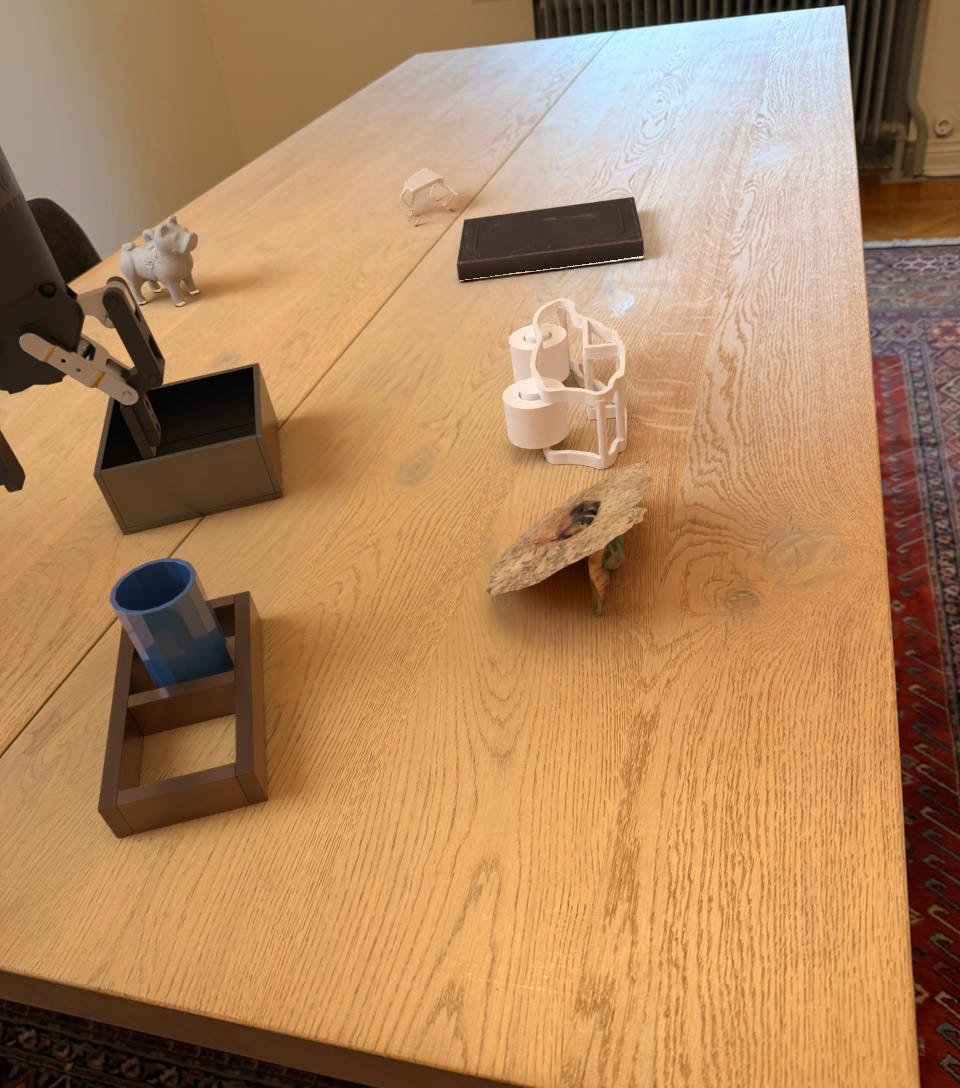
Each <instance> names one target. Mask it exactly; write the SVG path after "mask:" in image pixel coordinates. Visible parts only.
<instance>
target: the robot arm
mask: <svg viewBox="0 0 960 1088" xmlns="http://www.w3.org/2000/svg"><path fill="white" fill-rule="evenodd" d="M86 316H91V317H94V318H96V319H97V320H98V321H99V323H100V324H101V325H102V326H103V327H105V328H107V329H110V330H112V329H115V331H116V332H117V334H118V336H119V339H120V340H121V342H122V344H123V346H124V348H125V350H126V352H127V354H128V356H129V357H130V360H131V361H132V363H133V365H134V366H132V367H131V366H128V365H127V364H125V363H124V362H122V361H121V360H119V359H117V358H116V357H114V356H113V355H111V354H110V352H109V350H108V349H107V348H106V347H104V345H102V344H100V343H98V342H97V341H95V340H93V339H92V338H90V337H89V336H87V335H86V334H84V333H83V332H82V331H83V327H84V323H85V319H86ZM165 369H166V359H165V357H164V355H163V353H162V351H161V349H160V347H159V345H158V342H157V341H156V339H155V337H154V335H153V332H152V331H151V329H150V326H149V325H148V322H147V321H146V318H145V316H144V314H143V312H142V310H141V308H140V305H138V304H137V301H136V299H135V297H134V294H133V292H132V289H131V287H130V286H129V284H128V281H127V280H125V279H124V278H123V277H121V276H117V275H114V276H110V277H109V278H108V279H107V280H106V284H105V285H104V286H101V287H98V288H94V289H91V290H88V291H85V292H82V293H77V292H75V290H73V289H72V288H71V287H70V286H69V285H68V283H66V281H65V280H64V278H63V277H62V274H61V272H60V270H59V267H58V265H57V263H56V261H55V259H54V256H53V255H52V253H51V250H50V248H49V246H48V244H47V242H46V240H45V237H44V235H43V233H42V231H41V229H40V227H39V225H38V223H37V220H36V219H35V216H34V214H33V212H32V210H31V208H30V206H29V204H28V201H27V199H26V197H25V195H24V193H23V191H22V189H21V187H20V185H19V183H18V181H17V178H16V176H15V174H14V171H13V169H12V168H11V165H10V163H9V160H8V159H7V157H6V155H5V152H4V150H3V147H2V146H1V145H0V391H3V392H7V393H8V394H9V396H10V395H14V394H18V393H21V392H24V391H26V390H28V389H29V388H31V387H33V386H51V385H55V384H58V383H62V382H63V380H64V378H65V377H67V376H69V377H71V378H72V379H74V380H75V381H77V382H79V383H80V384H81V385H83V386H86V387H87V388H90V389H97V390H99V391H100V392H102V393H104V394H106V395H107V396H108V397H110V396H111V397H112V398H114V399H116V400H117V401H119V402H121V404H120V411H121V413H122V415H123V417H124V419H125V421H126V423H127V426H128V428H129V430H130V432H131V434H132V436H133V438H134V440H135V442H136V445H137V447H138V449H139V451H140V453H141V455H142V457H143V458H148V457H152V456H155V455H156V446H159V445H160V435H161V427H160V425H159V422H158V420H157V418H156V416H155V414H154V411H153V409H152V407H151V404H150V402H149V400H148V398H147V395H146V392H148V391H149V390H151V389H152V388H158V387H160V386H161V385H162V384H164V379H165ZM25 481H26V473H25V470H24V468H23V466H22V464H21V463H20V461H19V459H18V457H17V456H16V454H15V453H14V451H13V449H12V447H11V446H10V444H9V442H8V440H7V439H6V437H5V435H4V434H3V432H2V430H1V429H0V487H1V486H2V487H3V486H4V488H5V489H6V491H7V492H8V493H14V492H19V491H22V490H23V488H24V484H25Z"/></svg>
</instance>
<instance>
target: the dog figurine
mask: <svg viewBox="0 0 960 1088" xmlns="http://www.w3.org/2000/svg"><path fill="white" fill-rule="evenodd" d="M142 239H143V241H144V243H145V245H136V244H135V243H134V242H130V241H129V242H125V243H123V244H122V246H121V254H120V257H119V259H118V267H119V270H120V272H121V273H122V275H123V276H124V278H125V279H126V282H127V284H128V286H129V288H130V290H131V292H132V294H133V296H134V298H135V300H136V302H140V303H141V302H143V301H145V300H147V299H146V298H145V297H144V295H143V294H142V287H143V285H144V284H145V283H146V282H147V285H148V286H149V289H151V291H152V290H153V291H154V290H158V289H160V288H162V287H161V286H160V284H162V286H164V287H166V288H167V289H168V292H169V294H170V296H171V299H172V302H173V304H174V305H175V304H179V303H181V302H183V301H184V299H183V295H182V289H181V282H183V283H184V284H185V287H186V289H187V291H188V293H189V292H193V291H196V290H198V289H199V287H197V285H196V283H195V281H194V278H193V274H192V271H193V268H194V258H193V257H194V256H192V254H191V252H193V251H194V250H195V249H196V248H197V247H198V244H199V235H198V233H196V232H195V231H189V229H188V228H187V227H186V226H182V225H180V224H179V223H178V220H177V216H176V215H174V214H172V215H169V216H168V217H167V218H166V220H165V221H163V222H161V223H160V224H159V225H157V227H156V229H155V230H154V229H152V228H146V229H144V230H143V231H142ZM159 283H160V284H159ZM153 291H152V292H153Z"/></svg>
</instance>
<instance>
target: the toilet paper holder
mask: <svg viewBox="0 0 960 1088" xmlns="http://www.w3.org/2000/svg"><path fill="white" fill-rule="evenodd" d="M556 314H557V317H558V319H557V320H558V324H555V323H546V322H545V323H544V321H545V320H546V319H547V318H549V317H551V316H553V315H556ZM567 314H569V316H570V321H571V324H572V325H573V326H574V327H575V328H576V329H579V330H581V331H582V332H581V333H582V351H581V355H582V367H583V372H582V371H581V370H580V366H579V361H578V360H577V359H576V358H575V357H572V356H571V354H570V353H571V352H570V341H569V330H568V329H569V328H568V318H567ZM592 334H593V335H595V336H596V337H597V338H599V339H600V340H601V341H603V342H605V343H598V344H597V343H596V344H593V341H592ZM508 343H509V345H508V346H509V351H510V357H511V358H510V360H511V366H512V375H513V380H514V383H512V384H510V385H509V386H508V387H506V388H505V389H504V390H503V391H504V392H503V393H502V403H503V412H504V416H505V425H506V430H507V431H506V432H507V437H508V438H507V439H508V441H509V442H510V443H511V444H512V445H513V446H516V447H518V448H522V449H526V450H539V449H542V452H543V456H544V457H545V459H546V461H547V463H548V464H550V465H555V466H556V465H578V466H586V467H591V468H593V469H596V470H605V469H607V468H610V467H611V466H613V465H614V464H615V463H616V461H617V457H618V455H619V453H623V452H624V451H626V449H627V447H628V415H627V413H628V408H627V405H628V404H627V385H626V383H627V382H626V378H627V362H626V347H625V344H624V340H622V339H620V338H619V334H618V331H617V330H616V329H613V328H610V327H607V326H605V325H604V324H602V323H601V322H600V321H598V320H597V319H595V318H592V317H589V316H585V315H581V314H580V313H578V312H577V310H576V305H575V302H574V301H573V300H571V299H569V298H566V297H560V298H559V297H558V298H556V299H554V300H551V301H549V302H547V303H545V304H542V305H541V306H540V307H539V308H538V309H537V311H535V313H534V316H533V318H532V324H529V325H526V326H523V327H521V328H519V329H517V330H514V331H513V332H512V333H511V334H510V335H509V337H508ZM605 358H615V359H614V360H615V372H614V373H613V375H612V376H611V377H610V379H609V380H608V382H607V385H605V383H603V382H602V381H601V380H599V379H598V378H595V371H594V360H596V359H605ZM571 371H572V372H573V373H574V380H575V382H576V384H577V385H578V386H579V387H570V386H569V387H568V386H566V385H565V384H564V383H563V382H564V381H565V380H566V379H567V378H569V375H570V372H571ZM568 403H570V404H571V403H572V404H573V403H574V404H584V405H586V407H585V408H586V417H587V419H588V420H593V421H594V420H596V426H597V427H596V429H597V442H598V454H597V453H594V452H592V451H591V452H590V451H585V450H584V451H583V450H574V449H560V450H553V449H552V447H553V446H555V445H558V444H559V443H560V442H562V441H563V440H564V439H566V437H567V436H568V435H569V432H570V424H569V412H568V411H569V410H568ZM609 403H612V404H609ZM613 418H615V428H616V437H615V438H614V439H613V441H612V443H611V445H610V449H609V440H608V424H607V419H613Z"/></svg>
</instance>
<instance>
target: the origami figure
mask: <svg viewBox="0 0 960 1088" xmlns="http://www.w3.org/2000/svg"><path fill="white" fill-rule="evenodd" d="M403 183H404V185H403V190H402V191H401V194H400V196H399V197H400V199H401V200H402V201H403V202H404V204H405V205H406V206H407V208H408V211H407V214H406V217H408V218H410V217H411V218H412V219H416V221H415V223H416V222H420V219H421V218H420V217H418V216H416V215H414V204H415V199H416V196H417V194H420V193H421V192H423V191H425V190H427V189H428V188H430V193H429V197H430V198H431V199H433V200H434V197H435V196H433V194H434V190H435V185H436V184H439V185H441V187H443V188H444V189H446V190H447V191H448V192H450V193H451V194H450V195H449V196H448V197H447V199H446V200H445V201H444V203H443V204H442V205H441V206H442V207H444V208H445V209H447V210H448V209H451V208H450V207H448V206H447V205H448V204H450V203H451V202H452V201H453V200H454V199H455V198H457V197H458V196H459V193H458V192H457V191H455V190H454V189H453V188H452V187H451V186H450V185H449V184H448V183H447V182H446V181H445V176H441V175H439V174H438V173H436V172H435V171H433V170H431V169H430V168H428V166H425V167H422V169H420V170H418V171H416V172H414V173H412V175H411V176H410V177H409V178H408V179H407V180H406V181H404V182H403ZM407 190H408V191H409V192H410V193H411V194H412V197H411V200H410V201H411V202H410V204H409V203H408V202H407V201H406V199H405V198H404V195H405V193H406V191H407ZM412 214H413V215H412Z"/></svg>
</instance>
